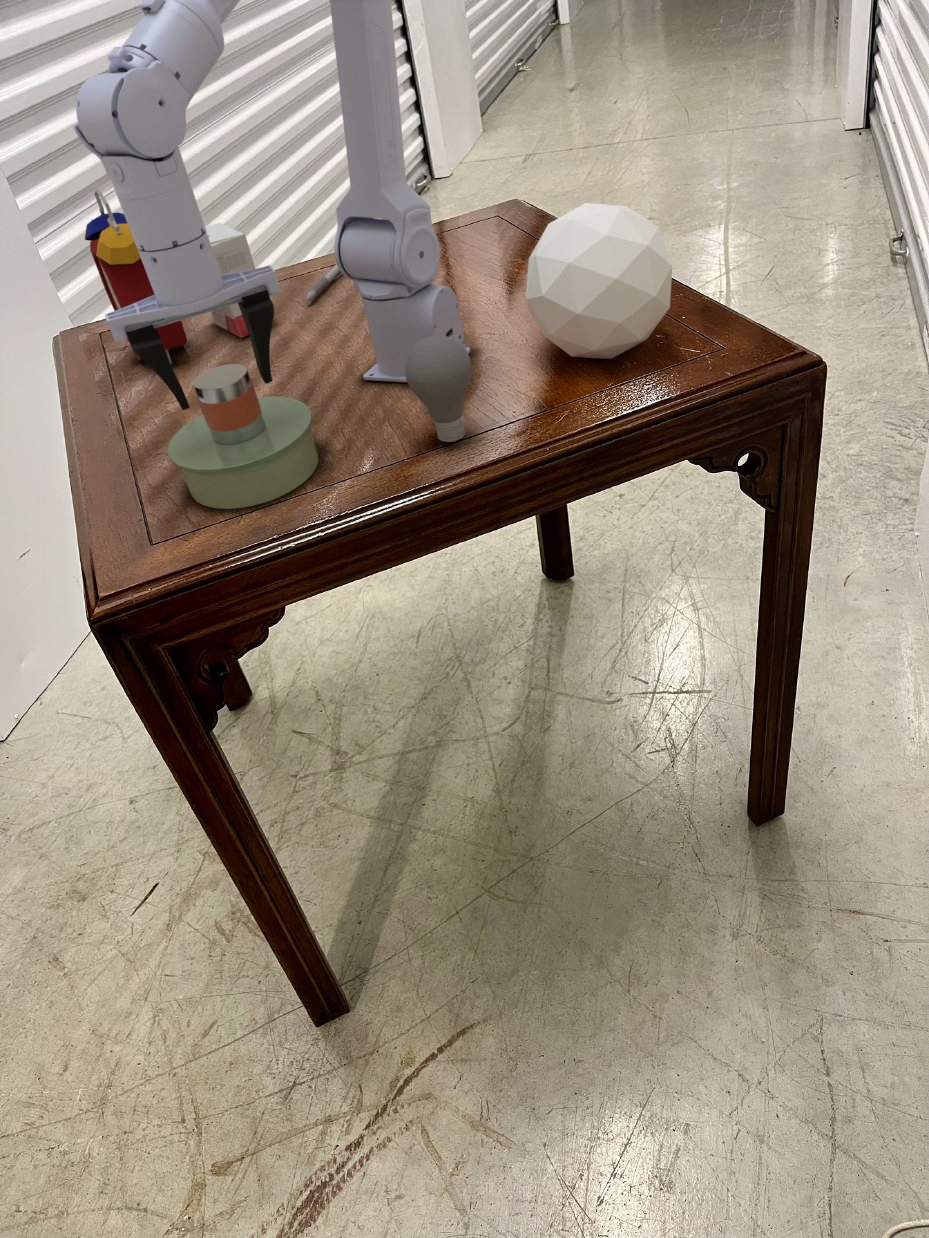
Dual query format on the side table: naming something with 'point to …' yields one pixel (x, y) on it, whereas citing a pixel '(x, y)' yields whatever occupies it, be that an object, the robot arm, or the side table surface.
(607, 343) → the geometric shape
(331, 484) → the side table surface
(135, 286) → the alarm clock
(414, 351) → the light bulb
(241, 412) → the can
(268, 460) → the pale green flat cylinder
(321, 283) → the pen
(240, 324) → the ink box
